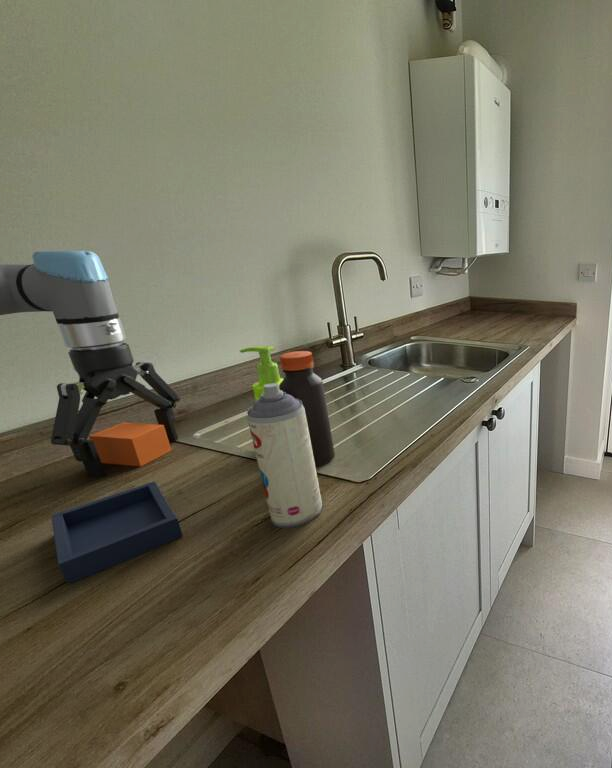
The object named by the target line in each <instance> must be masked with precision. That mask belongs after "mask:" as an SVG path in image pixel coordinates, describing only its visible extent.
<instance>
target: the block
mask: <svg viewBox="0 0 612 768" xmlns="http://www.w3.org/2000/svg"><path fill="white" fill-rule="evenodd" d="M88 438H89V440H93V442H94V444H95V447H96V450H97V452H98V455H99V457H100V460H101V463H102V464H107V465H120V466H129V467H130V466H131V467H143V466H144V465H147V464H149V463H150V462H152V461H154V460H157V459H158V458H160V457H162V456H165V455H166V454H168V453H170V452H172V447H171V445H170V440H168V437H167V434H166V431H165V428H164V425H158V424H154V423H141V422H128V421H123V422H120V423H117V424H115V425H112V426H110V427H107V428H105V429H102V430H100V431H98V432H95V433H93V434H89V436H88Z"/></svg>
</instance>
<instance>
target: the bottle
mask: <svg viewBox="0 0 612 768" xmlns="http://www.w3.org/2000/svg"><path fill="white" fill-rule="evenodd" d="M279 360H280V361H279V362H280V366H281V369H282V373H284V376H285V377H283V378H284V379H283V380H282V382H281V383H280V386H279V389H280V390H282V391H283V392H285V393H286V394H289V395H291V396H293V397H294V399H299V400H301V401H302V405H303V407H304V409H305V413H306V419H307V424H308V430H309V435H310V440H311V446H312V451H313V457H314V462H315V467H320V466H323V465H326V464H327V463H329V462H330V461H332V460H333V459H334V457H335V448H334V443H333V442H334V441H333V436H332V431H331V430H332V429H331V423H330V418H329V412H328V407H327V406H328V405H327V400H326V393H325V387H324V382H323V379H322V378H321V377H320V376H319V375H318V374H316V373H314V368H315V364H314V363H315V362H314V358H313V352H312V351H307V350H298V351H297V350H295V351H290V352H285V353H282V354H281V355H280V356H279Z"/></svg>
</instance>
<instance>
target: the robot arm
mask: <svg viewBox="0 0 612 768" xmlns="http://www.w3.org/2000/svg"><path fill="white" fill-rule="evenodd" d="M32 260H33V263H31V264H7V263H6V264H0V316H6V315H11V314H21V313H36V312H37V313H39V312H52V314H53V316H54V319H55V322H56V324H57V326H58V329H59V333H60V336H61V338H62V342H63V344H64V346H65V347H66V348H69V351H68V356H69V359H70V362H71V364H72V366H73V369H74V371H75V372H76V373H77V374H78V377H79V378H78V381H76V382H71V383H65V382H62V383H58V384H57V385H56V389H57V394H58V402H57V408H56V411H55V417H54V423H53V427H52V428H53V429H52V431H51V438H50V443H51V445H56V446H69V447H70V450H71V452H72V454H73V456H74V459H75V460H76V462H82V464H83V467H84V469H85V471H86V474H87V476H89V477H101V478H102V477H103V476H106V474H107V473H106V470H105V467H104V465H103V463H101V460H100V457H99V455H98V452H97V450H96V447H95V444H94V442H93V440H90V439H88V438H89V436H90V435H91V431H92V430H93V427H94V425H95V423H96V421H97V419H98V416H99V414H100V412H101V410H102V408H103V406H105V405H106V404H107V403H108V401H109V400H115V399H118V398H119V397H120V396H127V395H129V394H133V395H135V396H137V397H139V398H140V399H142V400H144V401H146V402H147V403H150V404H151V405H153V406H155V407H157V408H156V409H154V410H153V413H154V415H155V418H156V422H157V425H164V428H165V431H166V434H167V437H168V440H169V441H177V440H179V436H178V433H177V429H176V427H175V424H174V423H175V422H176V417H175V413H174V410H173V409H176V407H177V403H178V402H180V401H181V397H180V395H178V393H176V392H175V390H174V389H173V388H171V386H170V385H169V384H168V383H167V382H166V381H165V380H164V379H163V378H162V377H161V376H160V375H159V374H158V373H157V371H156V369H155V367H154V364H153V363H152V362H148V361H147V362H143V361H138V362H136V363H135V362H134V360H135V359H134V356H133V354H132V350H131V347H130V344H128V343H127V342H125V341H126V340H127V335H126V332H125V329H124V326H123V324H122V320H121V317H120V315H119V312H118V309H117V306H116V303H115V299H114V296H113V293H112V289H111V285H110V282H109V276H108V274H107V273H106V271H105V269H104V266H103V263H102V261H101V259H100V257H99V256H98V254H96V253H95V252H93V251H90V250H40V251H39V250H37V251H35V252H33V253H32ZM133 363H135V365H134V364H133ZM138 376H140V378H142V379H143V381H145V383H147V384H148V385H149V387H151V388H152V389H153V390H154V391H153V390H151V389H149V388H147V387H146V385H144V384H143V383H141V382H139V381H137V377H138ZM83 390H84V391H85V393H84V391H83ZM83 393H84V395H83ZM81 395H83V397H82V399H81ZM81 402H82V405H81V406H80V404H81Z"/></svg>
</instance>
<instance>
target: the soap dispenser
mask: <svg viewBox="0 0 612 768" xmlns="http://www.w3.org/2000/svg"><path fill="white" fill-rule="evenodd" d="M272 351H275V347H274V346H269V345H253V346H248V347H245V348H242V349H240V350H239V352H240V353H241V354H243V353H249V352H253V353H254V352H255V353H257V352H258V355H259V360H260V363H259V364H257V365H256V373H257V376H258V381H257V382H254V383H253V384H252V391H253V395H254V399H255V402H256V401H257V400H258V399H259V397H260V396H262V394H263V393H264V387H263V386H264V385H266V384H270V383H277V384H278V386H280V383H281V382H282V380H283V379H284V378H285V377H281V376H280V370H279V365H278V363H277V362H274V361H273V360H272V357H271V356H272V355H271V352H272Z"/></svg>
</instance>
